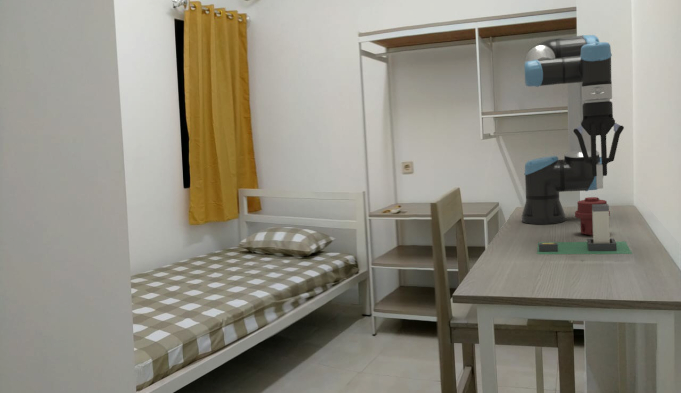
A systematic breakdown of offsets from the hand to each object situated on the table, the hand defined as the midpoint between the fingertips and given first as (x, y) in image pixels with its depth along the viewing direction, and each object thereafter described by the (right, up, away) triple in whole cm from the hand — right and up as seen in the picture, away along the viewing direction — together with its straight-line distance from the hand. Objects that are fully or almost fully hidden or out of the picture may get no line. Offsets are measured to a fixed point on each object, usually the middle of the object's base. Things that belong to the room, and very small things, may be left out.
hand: (599, 187), depth 170 cm
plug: (+1, -17, +2) cm, 17 cm away
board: (-3, -18, +5) cm, 19 cm away
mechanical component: (+7, -15, +22) cm, 28 cm away
